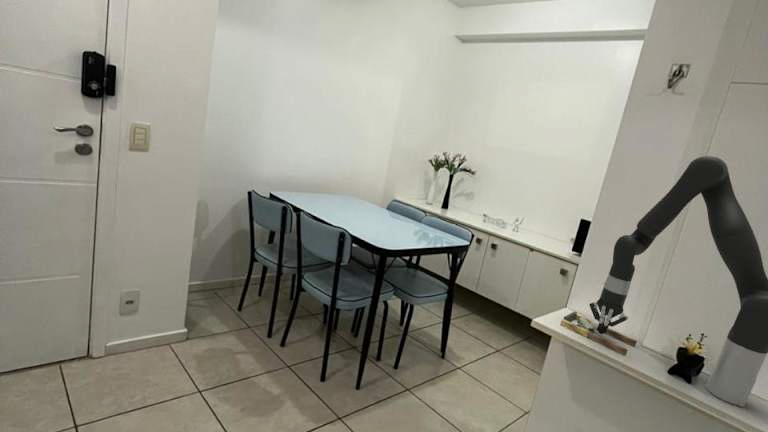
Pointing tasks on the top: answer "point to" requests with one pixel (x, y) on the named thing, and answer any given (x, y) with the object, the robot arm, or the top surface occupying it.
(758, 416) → the top surface
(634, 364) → the top surface
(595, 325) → the pipe fitting
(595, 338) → the rail
